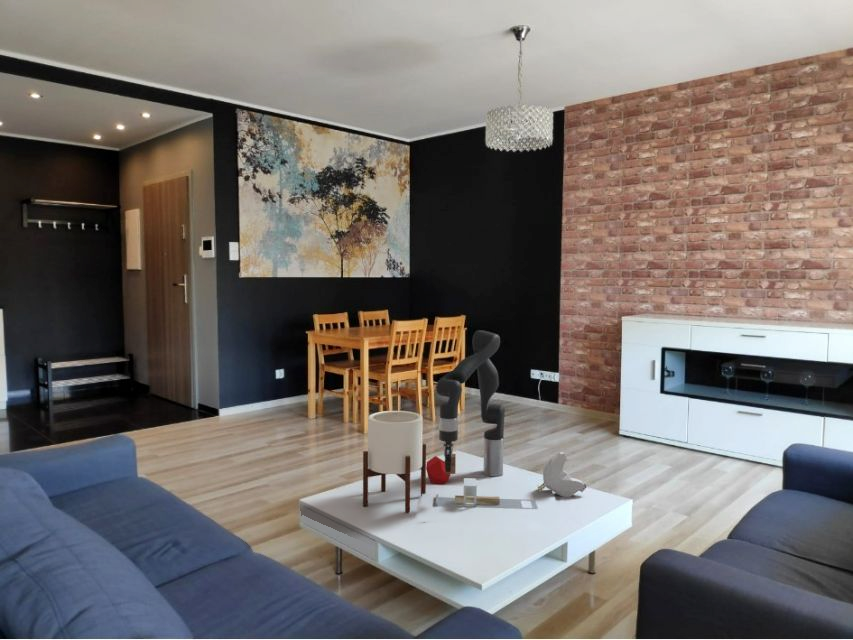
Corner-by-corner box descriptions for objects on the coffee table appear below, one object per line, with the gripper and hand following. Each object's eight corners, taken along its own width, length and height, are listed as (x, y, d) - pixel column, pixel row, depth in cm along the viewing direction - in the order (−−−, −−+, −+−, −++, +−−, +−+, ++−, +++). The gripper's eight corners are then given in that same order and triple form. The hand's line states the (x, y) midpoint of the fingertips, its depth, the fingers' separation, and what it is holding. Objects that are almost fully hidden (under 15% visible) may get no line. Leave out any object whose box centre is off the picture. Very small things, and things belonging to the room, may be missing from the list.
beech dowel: (455, 501, 245) (455, 495, 245) (499, 502, 245) (499, 496, 244) (455, 503, 243) (455, 497, 243) (499, 504, 242) (499, 498, 242)
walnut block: (445, 470, 246) (445, 453, 245) (455, 470, 246) (455, 453, 245) (445, 473, 242) (445, 456, 241) (455, 473, 242) (455, 456, 241)
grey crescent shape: (543, 506, 255) (589, 493, 254) (531, 464, 254) (576, 450, 253) (541, 500, 262) (585, 487, 261) (528, 459, 261) (573, 446, 260)
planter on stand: (381, 489, 263) (381, 408, 261) (429, 495, 256) (429, 413, 253) (358, 507, 242) (358, 420, 240) (410, 514, 235) (411, 425, 232)
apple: (427, 490, 267) (418, 469, 280) (452, 489, 271) (443, 469, 284) (431, 468, 263) (423, 448, 276) (457, 468, 267) (447, 448, 280)
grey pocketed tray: (435, 500, 250) (436, 477, 249) (534, 503, 248) (535, 479, 247) (435, 509, 240) (435, 485, 239) (538, 512, 238) (538, 488, 237)
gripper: (457, 433, 235) (457, 475, 237) (457, 424, 250) (457, 464, 251) (438, 432, 236) (438, 475, 237) (439, 423, 250) (439, 464, 251)
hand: (448, 469), depth 244 cm, fingers closed on walnut block, 4 cm apart
